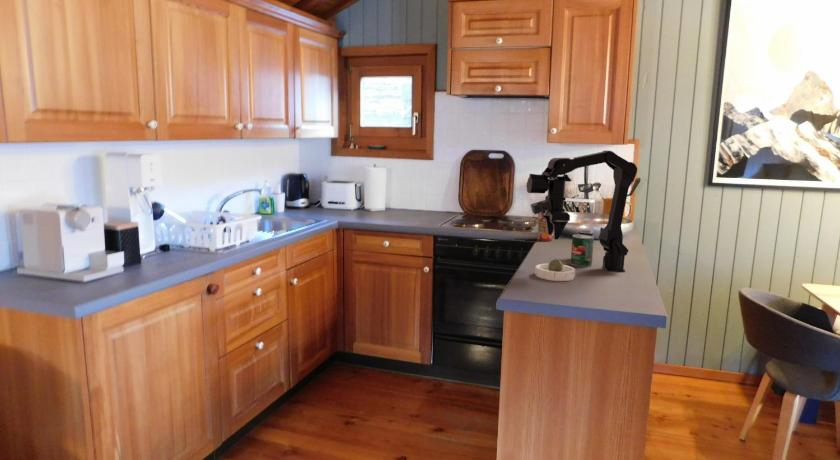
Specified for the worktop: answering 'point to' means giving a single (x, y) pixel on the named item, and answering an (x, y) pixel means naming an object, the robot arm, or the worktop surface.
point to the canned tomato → (582, 250)
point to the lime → (555, 266)
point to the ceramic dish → (555, 273)
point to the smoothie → (543, 229)
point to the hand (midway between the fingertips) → (552, 237)
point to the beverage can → (586, 231)
